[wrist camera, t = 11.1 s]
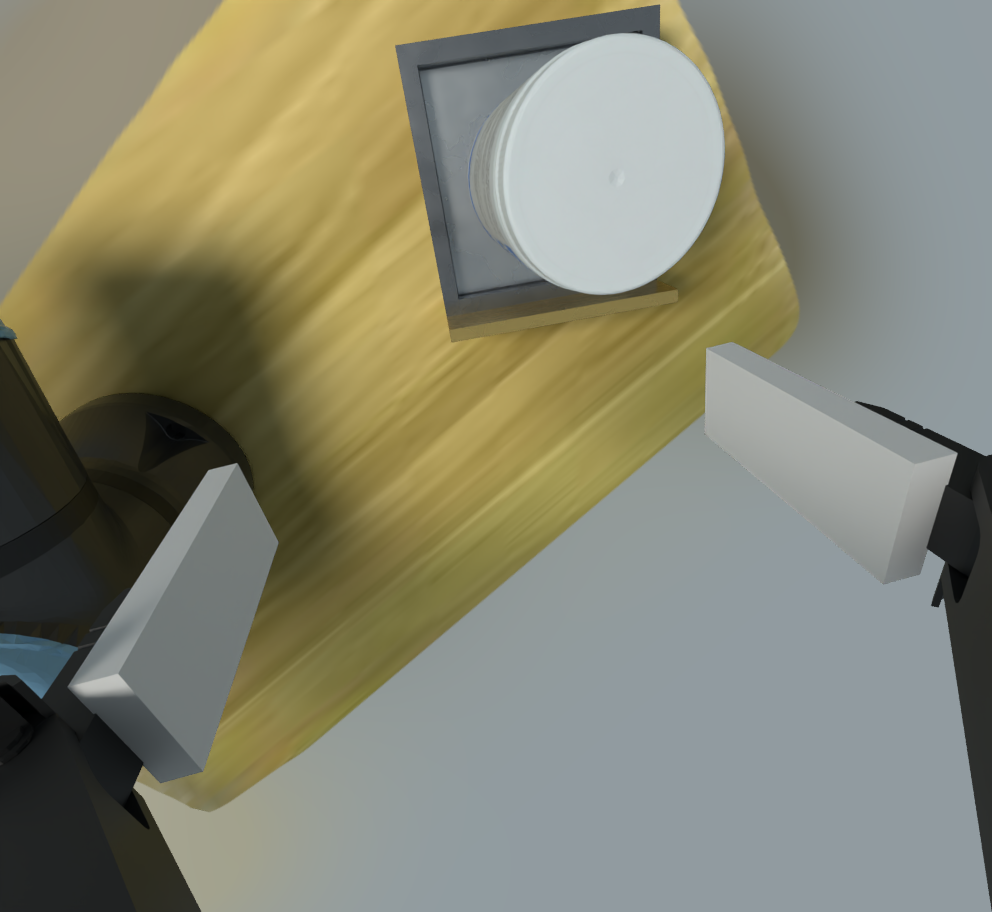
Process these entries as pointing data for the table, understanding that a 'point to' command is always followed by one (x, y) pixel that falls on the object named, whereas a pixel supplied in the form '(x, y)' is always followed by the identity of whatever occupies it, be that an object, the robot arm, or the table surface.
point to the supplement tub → (601, 164)
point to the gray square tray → (444, 164)
